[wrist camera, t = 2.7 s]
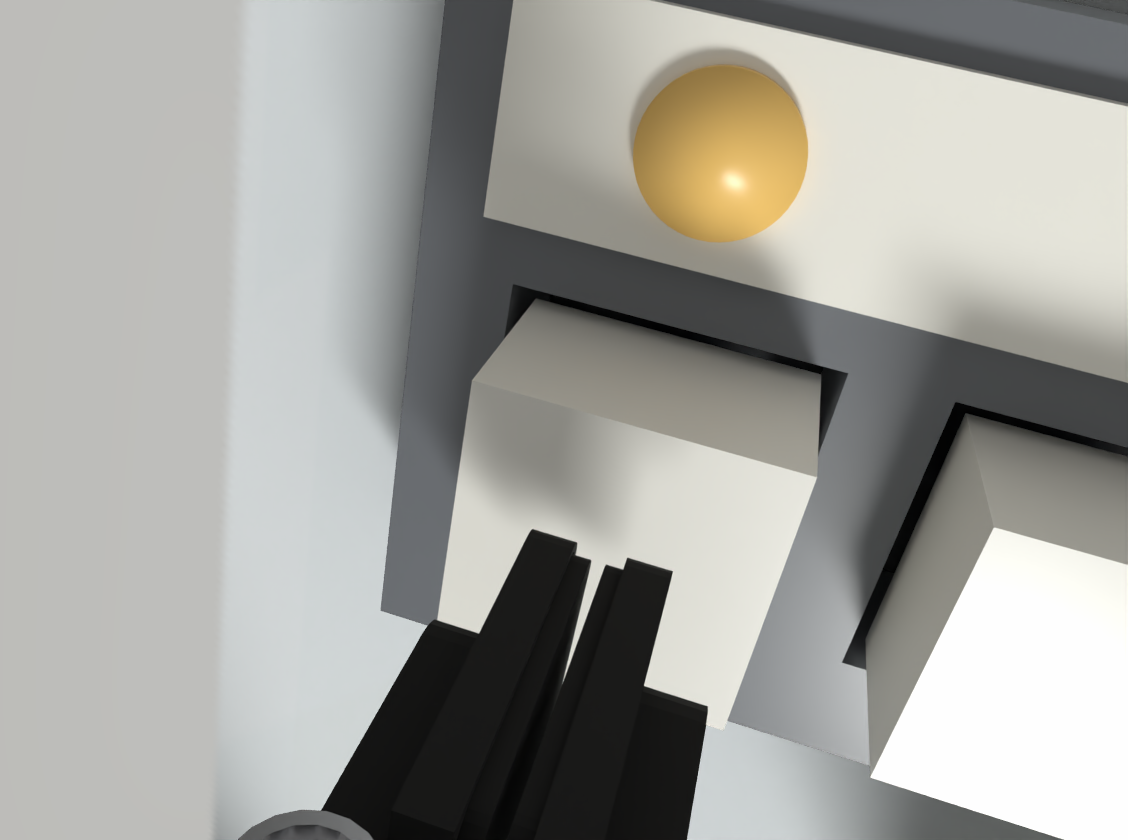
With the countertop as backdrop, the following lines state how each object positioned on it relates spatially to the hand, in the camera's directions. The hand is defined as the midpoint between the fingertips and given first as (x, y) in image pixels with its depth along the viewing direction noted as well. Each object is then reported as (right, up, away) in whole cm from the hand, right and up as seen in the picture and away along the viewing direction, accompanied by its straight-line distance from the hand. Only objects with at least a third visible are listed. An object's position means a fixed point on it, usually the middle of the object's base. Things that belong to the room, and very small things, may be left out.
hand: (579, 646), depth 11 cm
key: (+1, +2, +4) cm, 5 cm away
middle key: (+7, 0, +4) cm, 8 cm away
